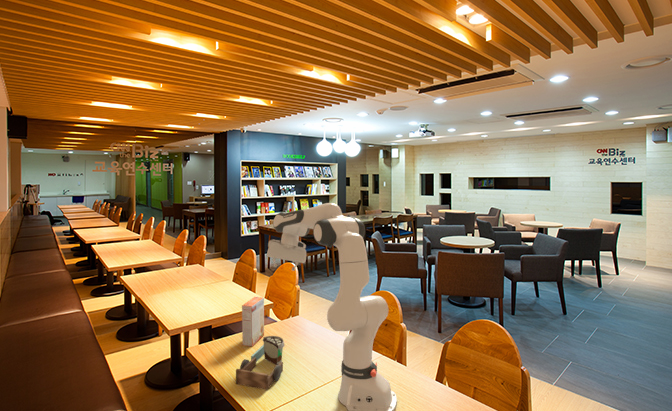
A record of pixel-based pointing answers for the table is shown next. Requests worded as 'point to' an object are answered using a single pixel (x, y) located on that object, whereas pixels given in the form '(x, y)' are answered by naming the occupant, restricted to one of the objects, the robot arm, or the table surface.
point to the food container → (273, 349)
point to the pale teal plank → (258, 353)
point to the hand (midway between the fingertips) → (284, 269)
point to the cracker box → (253, 321)
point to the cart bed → (256, 375)
